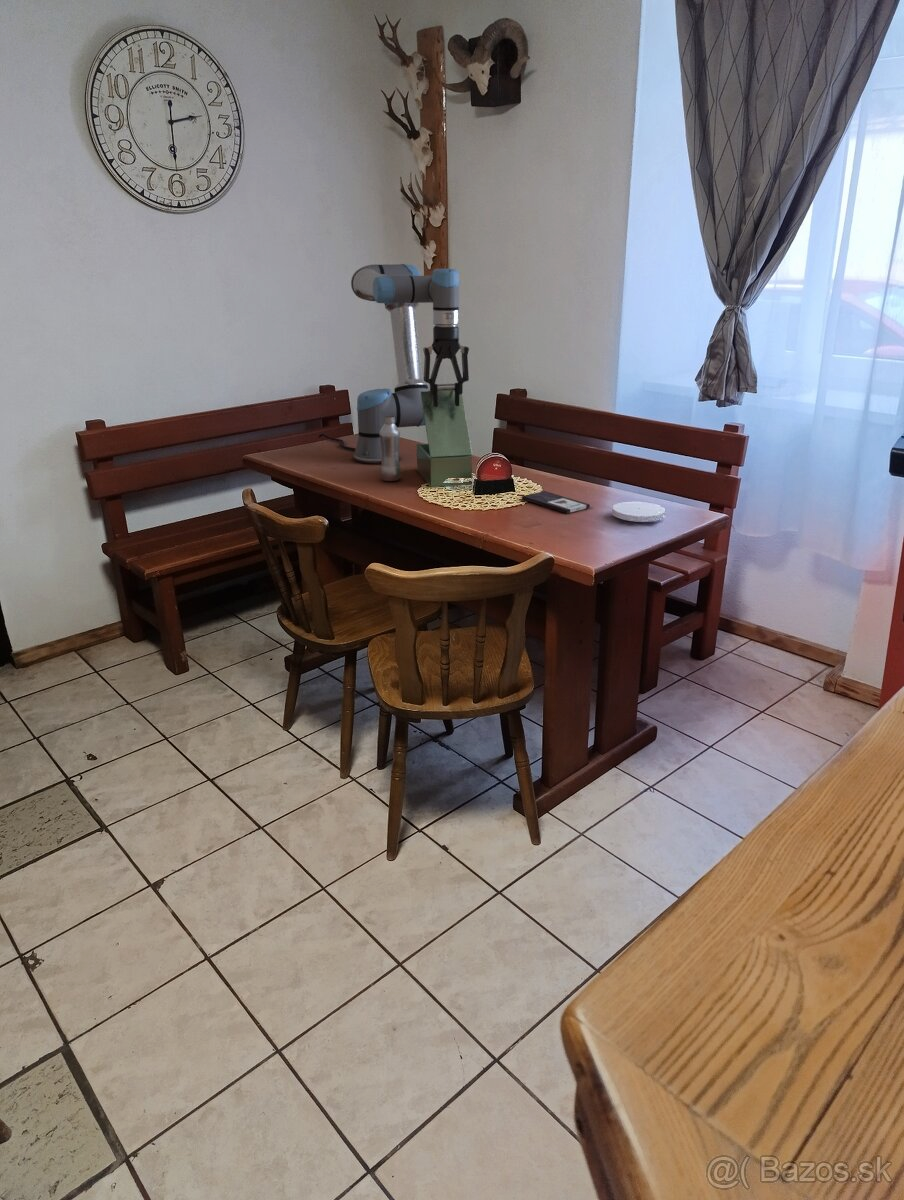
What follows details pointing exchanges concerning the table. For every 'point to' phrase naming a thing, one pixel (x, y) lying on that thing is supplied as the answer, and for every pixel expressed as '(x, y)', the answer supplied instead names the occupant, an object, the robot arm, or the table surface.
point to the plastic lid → (638, 511)
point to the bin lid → (446, 423)
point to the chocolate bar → (555, 502)
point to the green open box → (442, 467)
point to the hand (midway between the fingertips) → (446, 405)
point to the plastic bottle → (390, 449)
